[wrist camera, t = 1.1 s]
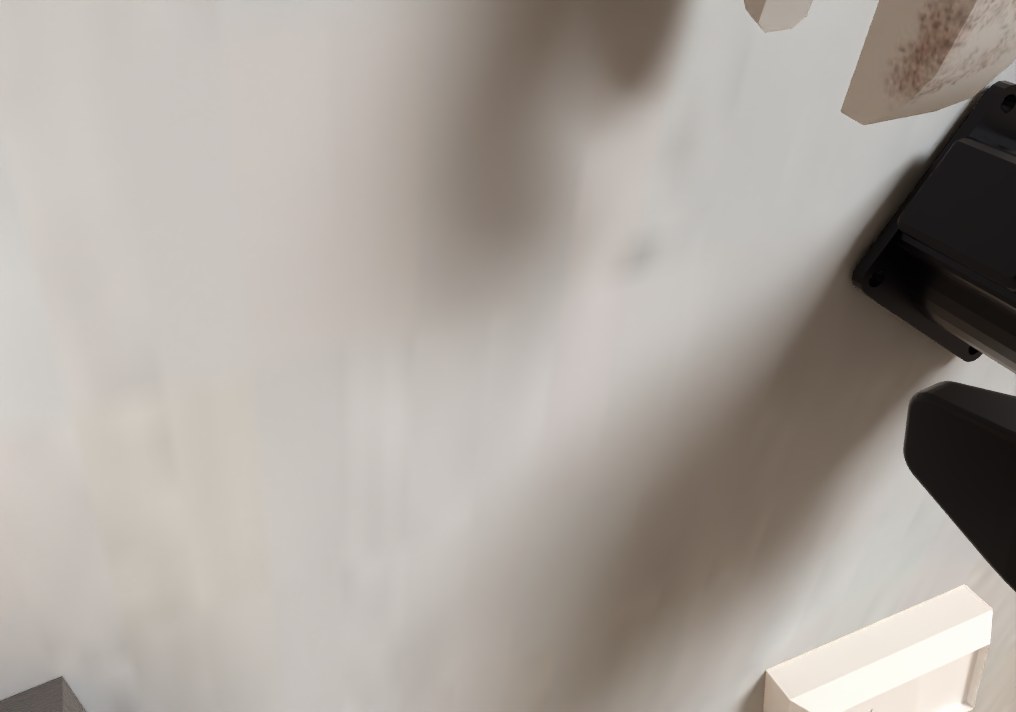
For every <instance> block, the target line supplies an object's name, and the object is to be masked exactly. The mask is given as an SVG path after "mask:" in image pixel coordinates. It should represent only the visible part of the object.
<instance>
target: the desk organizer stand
mask: <svg viewBox="0 0 1016 712" xmlns="http://www.w3.org/2000/svg"><path fill="white" fill-rule="evenodd" d="M0 712H86V711H85V710H84V708H83V707H82V705H81V704H80V702H79V701H78V699H77V698H76V696H75V695H74V693H73V692H72V690H71V689H70V687H69V686H68V684H67V683H66V681H65V680H64V678H63V677H60V678H57V679H55V680H52V681H50V682H47V683H45V684H42V685H40V686H37V687H35V688H32V689H30V690H27V691H25V692H22V693H20V694H17V695H15V696H12V697H10V698H8V699H5V700H3V701H0Z"/></svg>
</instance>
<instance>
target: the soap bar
mask: <svg viewBox="0 0 1016 712" xmlns="http://www.w3.org/2000/svg"><path fill="white" fill-rule="evenodd" d="M992 615H993V609H992V608H991V607H990V606H989V605H987V604H986V603H985V602H984V601H983V600H982V599H981V598H980V597H978V596H977V595H976V594H975V593H974V592H973V591H972V590H971V589H969V588H968V587H967V586H966V585H965V584H964V585H962V586H960V587H957V588H955V589H953V590H950V591H948V592H946V593H943V594H941V595H939V596H936V597H934V598H932V599H929V600H927V601H925V602H923V603H920V604H918V605H916V606H913V607H911V608H909V609H906V610H904V611H902V612H899V613H897V614H895V615H892V616H890V617H888V618H885V619H883V620H881V621H879V622H876V623H874V624H872V625H869V626H867V627H865V628H862V629H860V630H858V631H855V632H853V633H851V634H848V635H846V636H844V637H841V638H839V639H837V640H834V641H832V642H830V643H828V644H825V645H823V646H821V647H818V648H816V649H814V650H811V651H809V652H807V653H804V654H802V655H800V656H797V657H795V658H793V659H790V660H788V661H786V662H784V663H781V664H779V665H777V666H774V667H772V668H770V669H767V670H766V677H765V692H764V707H763V712H968V711H970V710H972V709H974V705H975V701H976V697H977V693H978V689H979V685H980V681H981V677H982V673H983V669H984V665H985V661H986V657H987V653H988V649H989V646H990V637H991V626H992Z"/></svg>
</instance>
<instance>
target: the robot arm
mask: <svg viewBox="0 0 1016 712" xmlns="http://www.w3.org/2000/svg"><path fill="white" fill-rule="evenodd" d="M1003 99H1004V100H1003ZM1002 101H1003V102H1002ZM1001 103H1002V104H1001ZM873 273H874V274H873ZM872 274H873V276H872V277H871V275H872ZM870 277H871V278H870ZM852 283H853V285H854V286H855V288H857V289H858V290H860V291H861V292H863V293H864V294H866V295H867V296H868V297H870V298H871V299H873V300H874V301H876V302H877V303H879V304H880V305H882V306H883V307H885V308H886V309H888V310H889V311H891V312H892V313H894V314H895V315H897V316H898V317H900V318H901V319H903V320H904V321H906V322H907V323H909V324H910V325H912V326H913V327H915V328H916V329H918V330H919V331H921V332H922V333H924V334H925V335H927V336H928V337H930V338H931V339H933V340H934V341H935V342H937V343H938V344H940V345H941V346H943V347H944V348H946V349H947V350H949V351H950V352H952V353H953V354H955V355H956V356H958V357H959V358H961V359H963V360H964V361H967V362H970V361H974V360H976V359H977V358H979V357H980V356H981V355H982V354H985V355H986V356H988V357H990V358H991V359H993V360H994V361H996V362H998V363H999V364H1001V365H1002V366H1004V367H1006V368H1007V369H1009V370H1010V371H1012V372H1014V373H1015V374H1016V84H1013V83H1010V82H1007V81H998V82H997V83H995V84H993V85H992V86H991V87H990V88H989V89H988V90H987V92H986V93H985V94H984V96H983V97H982V98H981V100H980V101H979V102H978V104H977V105H976V106H975V108H974V109H973V110H972V112H971V113H970V114H969V116H968V117H967V118H966V120H965V121H964V122H963V124H962V125H961V126H960V128H959V129H958V131H957V132H956V133H955V135H954V136H953V137H952V139H951V140H950V141H949V143H948V144H947V145H946V147H945V148H944V149H943V151H942V152H941V153H940V155H939V156H938V157H937V159H936V160H935V161H934V163H933V164H932V165H931V167H930V168H929V169H928V171H927V172H926V174H925V175H924V176H923V178H922V179H921V180H920V182H919V183H918V184H917V186H916V187H915V188H914V190H913V191H912V192H911V194H910V195H909V196H908V198H907V199H906V200H905V202H904V203H903V204H902V206H901V207H900V208H899V210H898V211H897V213H896V214H895V215H894V217H893V218H892V219H891V221H890V222H889V223H888V225H887V226H886V227H885V229H884V230H883V231H882V233H881V234H880V235H879V237H878V238H877V239H876V241H875V242H874V243H873V245H872V246H871V247H870V249H869V250H868V251H867V253H866V254H865V256H864V257H863V258H862V260H861V261H860V262H859V264H858V265H857V266H856V268H855V270H854V272H853V275H852ZM903 453H904V458H905V461H906V463H907V466H908V467H909V469H910V471H911V472H912V474H913V475H914V476H915V477H916V478H917V480H918V481H919V482H920V483H921V484H922V485H923V487H924V488H925V489H926V490H927V491H928V493H929V494H930V495H931V496H932V497H933V498H934V500H935V501H936V502H937V503H938V504H939V505H940V507H941V508H942V509H943V510H944V511H945V513H946V514H947V515H948V516H949V517H950V518H951V520H952V521H953V522H954V523H955V524H956V526H957V527H958V528H959V529H960V530H961V531H962V533H963V534H964V535H965V536H966V537H967V538H968V540H969V541H970V542H971V543H972V544H973V546H974V547H975V548H976V549H977V550H978V551H979V553H980V554H981V555H982V556H983V557H984V558H985V560H986V561H987V562H988V563H989V564H990V565H991V566H992V568H993V569H994V570H995V571H996V572H997V573H998V574H999V575H1000V576H1001V578H1002V579H1003V580H1004V581H1005V582H1006V583H1007V584H1008V585H1009V586H1010V587H1011V588H1012V589H1013V590H1014V591H1015V592H1016V396H1012V395H1007V394H1003V393H999V392H995V391H991V390H986V389H982V388H978V387H974V386H969V385H965V384H961V383H957V382H951V381H944V382H940V383H937V384H935V385H933V386H930V387H928V388H926V389H924V390H922V391H920V392H918V393H916V394H915V395H913V397H912V398H911V400H910V402H909V406H908V414H907V422H906V431H905V439H904V447H903Z"/></svg>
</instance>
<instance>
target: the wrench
mask: <svg viewBox="0 0 1016 712" xmlns="http://www.w3.org/2000/svg"><path fill="white" fill-rule="evenodd" d="M812 1H813V0H744V3H745V8H746V10H747V11H748V13H749V14H750V16H751V17H752V18H753V19H754V20H755V22H756V23H757V24H758V25H759V26H760V27H761V28H762V29H763V31H764V32H765V33H766V32H772V31H778V30H785V29H791V28H793V27H794V26H795V25H796V24H798V23H799V22H800V21H801V20H802V19H803V18H805V17H806V16H807V14H808V11H809V8H810V6H811V3H812ZM1015 58H1016V0H879V3H878V6H877V9H876V11H875V14H874V17H873V20H872V23H871V26H870V29H869V31H868V34H867V37H866V40H865V43H864V46H863V49H862V51H861V54H860V57H859V60H858V63H857V66H856V69H855V71H854V74H853V77H852V80H851V83H850V86H849V89H848V91H847V94H846V97H845V100H844V103H843V106H842V109H841V112H842V113H843V114H845V115H847V116H848V117H850V118H852V119H854V120H855V121H857V122H859V123H861V124H862V125H867V124H872V123H877V122H882V121H888V120H893V119H898V118H903V117H908V116H913V115H918V114H923V113H928V112H934V111H937V110H940V109H942V108H945V107H948V106H950V105H953V104H956V103H958V102H961V101H964V100H966V99H969V98H972V97H973V96H975V95H976V94H977V93H978V92H979V91H980V90H981V89H983V88H984V87H985V86H986V85H987V84H988V83H990V82H991V81H992V80H993V79H994V78H995V77H996V76H998V75H999V74H1000V73H1001V72H1002V71H1003V70H1004V69H1006V68H1007V67H1008V66H1009V65H1010V64H1011V63H1013V61H1014V60H1015Z"/></svg>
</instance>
